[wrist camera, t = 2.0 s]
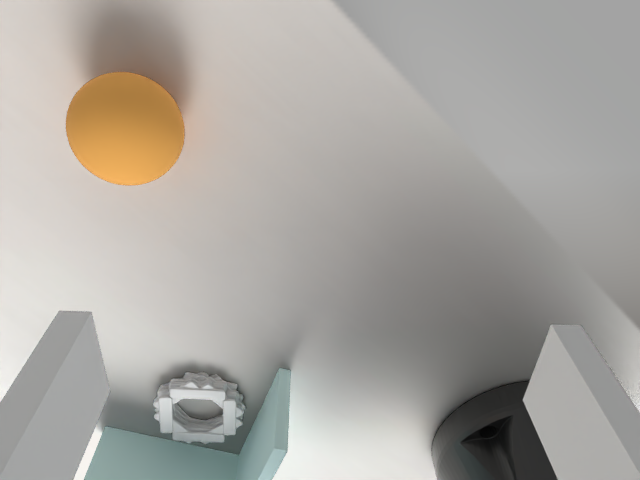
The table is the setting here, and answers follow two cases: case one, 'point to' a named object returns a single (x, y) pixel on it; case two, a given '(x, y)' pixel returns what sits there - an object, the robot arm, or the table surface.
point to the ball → (125, 128)
